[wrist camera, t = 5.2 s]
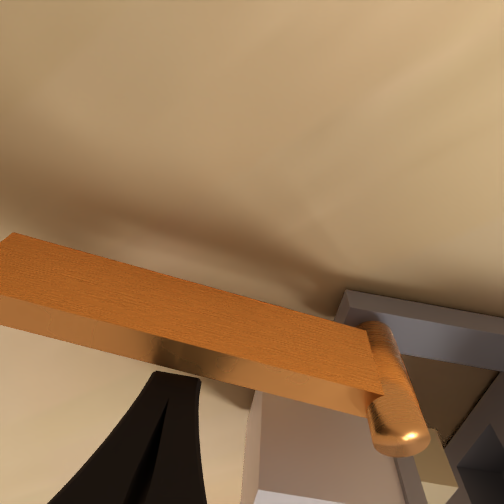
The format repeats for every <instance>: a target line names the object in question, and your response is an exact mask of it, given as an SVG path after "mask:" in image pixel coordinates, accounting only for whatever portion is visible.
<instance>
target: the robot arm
mask: <svg viewBox="0 0 504 504" xmlns="http://www.w3.org/2000/svg"><path fill="white" fill-rule="evenodd" d="M200 388H201V381H200V379H199V378H195V377H189V376H184V375H178V374H172V373H166V372H161V371H155V372H153V373H152V374H151V376H150V378H149V380H148V382H147V383H146V385H145V386H144V388H143V389H142V391H141V393H140V394H139V396H138V397H137V398H136V400H135V401H134V403H133V404H132V406H131V407H130V408H129V410H128V411H127V412H126V414H125V415H124V416H123V418H122V419H121V420H120V422H119V423H118V424H117V425H116V427H115V428H114V429H113V431H112V432H111V433H110V435H109V436H108V437H107V438H106V439H105V441H104V442H103V443H102V444H101V445H100V447H99V448H98V449H97V450H96V451H95V452H94V454H93V455H92V456H91V457H90V458H89V459H88V461H87V462H86V463H85V464H84V465H83V466H82V467H81V469H80V470H79V471H78V472H77V473H76V474H75V475H74V476H73V477H72V478H71V480H70V481H69V482H68V483H67V484H66V485H65V486H64V487H63V488H62V489H61V490H60V491H59V492H58V493H57V494H56V495H55V496H54V497H53V498H52V499H51V500H50V501H49V502H48V503H47V504H207V500H206V494H205V487H204V480H203V473H202V464H201V454H200V441H199V415H198V410H199V394H200Z"/></svg>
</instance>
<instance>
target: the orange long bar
mask: <svg viewBox="0 0 504 504" xmlns="http://www.w3.org/2000/svg"><path fill="white" fill-rule="evenodd" d="M0 325H3V326H7V327H11V328H15V329H19V330H23V331H27V332H31V333H35V334H38V335H42V336H46V337H50V338H54V339H58V340H62V341H66V342H70V343H74V344H78V345H82V346H85V347H89V348H93V349H97V350H101V351H105V352H109V353H113V354H117V355H121V356H125V357H129V358H132V359H136V360H140V361H144V362H148V363H152V364H156V365H160V366H164V367H168V368H172V369H176V370H179V371H183V372H187V373H191V374H195V375H199V376H203V377H207V378H211V379H215V380H219V381H223V382H226V383H230V384H234V385H238V386H242V387H246V388H250V389H254V390H258V391H262V392H266V393H270V394H273V395H277V396H281V397H285V398H289V399H293V400H297V401H301V402H305V403H309V404H313V405H317V406H320V407H324V408H328V409H332V410H336V411H340V412H344V413H348V414H352V415H356V416H360V417H364V418H367V420H368V424H369V429H370V433H371V438H372V442H373V446H374V448H375V449H376V450H377V451H378V452H379V453H381V454H383V455H385V456H389V457H396V458H402V457H409V456H413V455H416V454H418V453H420V452H422V451H423V450H425V449H426V448H427V447H428V445H429V443H430V441H431V437H430V434H429V431H428V428H427V425H426V423H425V420H424V417H423V415H422V412H421V409H420V406H419V403H418V400H417V398H416V395H415V392H414V389H413V387H412V384H411V381H410V379H409V376H408V373H407V371H406V368H405V365H404V362H403V360H402V357H401V354H400V352H399V349H398V346H397V344H396V341H395V339H394V336H393V333H392V331H391V329H390V327H389V326H388V325H386V324H385V323H383V322H379V321H366V322H363V323H360V324H359V325H357V326H356V327H351V326H348V325H344V324H341V323H337V322H333V321H330V320H326V319H323V318H319V317H315V316H312V315H308V314H305V313H301V312H298V311H294V310H290V309H287V308H283V307H280V306H276V305H272V304H269V303H265V302H262V301H258V300H255V299H251V298H247V297H244V296H240V295H237V294H233V293H229V292H226V291H222V290H219V289H215V288H212V287H208V286H204V285H201V284H197V283H194V282H190V281H186V280H183V279H179V278H176V277H172V276H168V275H165V274H161V273H158V272H154V271H151V270H147V269H143V268H140V267H136V266H133V265H129V264H125V263H122V262H118V261H115V260H111V259H108V258H104V257H100V256H97V255H93V254H90V253H86V252H82V251H79V250H75V249H72V248H68V247H65V246H61V245H57V244H54V243H50V242H47V241H43V240H39V239H36V238H32V237H29V236H25V235H22V234H18V233H14V232H13V233H12V234H10V235H9V236H8V237H7V238H5V239H4V240H3V241H1V242H0Z"/></svg>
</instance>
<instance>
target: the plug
mask: <svg viewBox="0 0 504 504" xmlns="http://www.w3.org/2000/svg"><path fill="white" fill-rule="evenodd" d="M428 431H429V434H430V437H431V441H430V443H429V445H428V447H427V448H426V449H425V450H423V451H422V452H420V453H418V454H416V455H413V456H409V457H402V458H396V457H389V456H385V455H383V454H381V453H379V452H378V451H377V450H376V449H375V448H374V446H373V442H372V438H371V433H370V429H369V424H368V420H367V418H364V417H360V416H356V415H352V414H348V413H344V412H340V411H336V410H332V409H328V408H324V407H320V406H317V405H313V404H309V403H305V402H301V401H297V400H293V399H289V398H285V397H281V396H277V395H273V394H270V393H266V392H262V391H258V390H256V391H255V394H254V398H253V402H252V405H251V409H250V413H249V416H248V420H247V428H246V440H245V453H244V465H243V477H242V490H241V502H240V504H446V502H447V501H448V500H449V499H450V498H451V496H452V495H453V494H454V493H455V492H456V490H457V489H458V488H459V487H458V484H457V482H456V479H455V477H454V474H453V472H452V469H451V467H450V464H449V461H448V459H447V456H446V454H445V451H444V449H443V446H442V443H441V441H440V438H439V436H438V433H437V431H436V429H432V428H428Z"/></svg>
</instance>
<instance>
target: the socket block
mask: <svg viewBox="0 0 504 504" xmlns="http://www.w3.org/2000/svg"><path fill="white" fill-rule="evenodd" d="M366 321H379V322H383V323H385V324H386V325H388V326H389V327H390V329H391V331H392V333H393V336H394V339H395V341H396V344H397V346H398V349H399V352H400V354H405V355H410V356H416V357H422V358H427V359H433V360H439V361H444V362H450V363H456V364H461V365H467V366H473V367H478V368H484V369H490V370H495V371H501V372H500V373H499V375H498V376H497V377H496V379H495V380H494V381H493V383H492V384H491V386H490V387H489V388H488V390H487V391H486V392H485V394H484V395H483V397H482V398H481V399H480V401H479V402H478V403H477V405H476V406H475V408H474V409H473V410H472V412H471V413H470V414H469V416H468V417H467V419H466V420H465V421H464V423H463V424H462V425H461V427H460V428H459V430H458V431H457V432H456V434H455V435H454V436H453V438H452V439H451V441H450V442H449V443H448V445H447V446H446V447H445V449H444V451H445V454H446V456H447V459H448V461H449V464H450V467H451V469H452V472H453V474H454V477H455V479H456V482H457V484H458V487H459V488H458V489H457V490H456V492H455V493H454V494H453V495H452V496H451V498H450V499H449V500H448V501H447V502H446V504H504V318H500V317H494V316H489V315H483V314H478V313H472V312H467V311H461V310H456V309H450V308H445V307H440V306H434V305H429V304H423V303H418V302H412V301H407V300H401V299H396V298H390V297H385V296H379V295H374V294H368V293H363V292H357V291H352V290H345V292H344V295H343V298H342V300H341V303H340V306H339V308H338V311H337V314H336V316H335V319H334V322H337V323H341V324H344V325H348V326H351V327H356V326H357V325H359V324H360V323H363V322H366Z"/></svg>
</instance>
